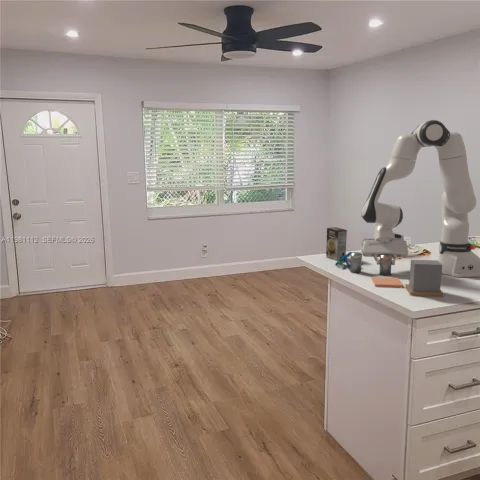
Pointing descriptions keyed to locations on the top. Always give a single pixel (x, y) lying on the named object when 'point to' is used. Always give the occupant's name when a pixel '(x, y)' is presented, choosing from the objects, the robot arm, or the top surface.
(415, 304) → the top surface
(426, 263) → the block
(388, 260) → the terracotta cartridge
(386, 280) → the mat
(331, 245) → the coffee box
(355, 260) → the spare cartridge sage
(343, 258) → the blue toy figure
